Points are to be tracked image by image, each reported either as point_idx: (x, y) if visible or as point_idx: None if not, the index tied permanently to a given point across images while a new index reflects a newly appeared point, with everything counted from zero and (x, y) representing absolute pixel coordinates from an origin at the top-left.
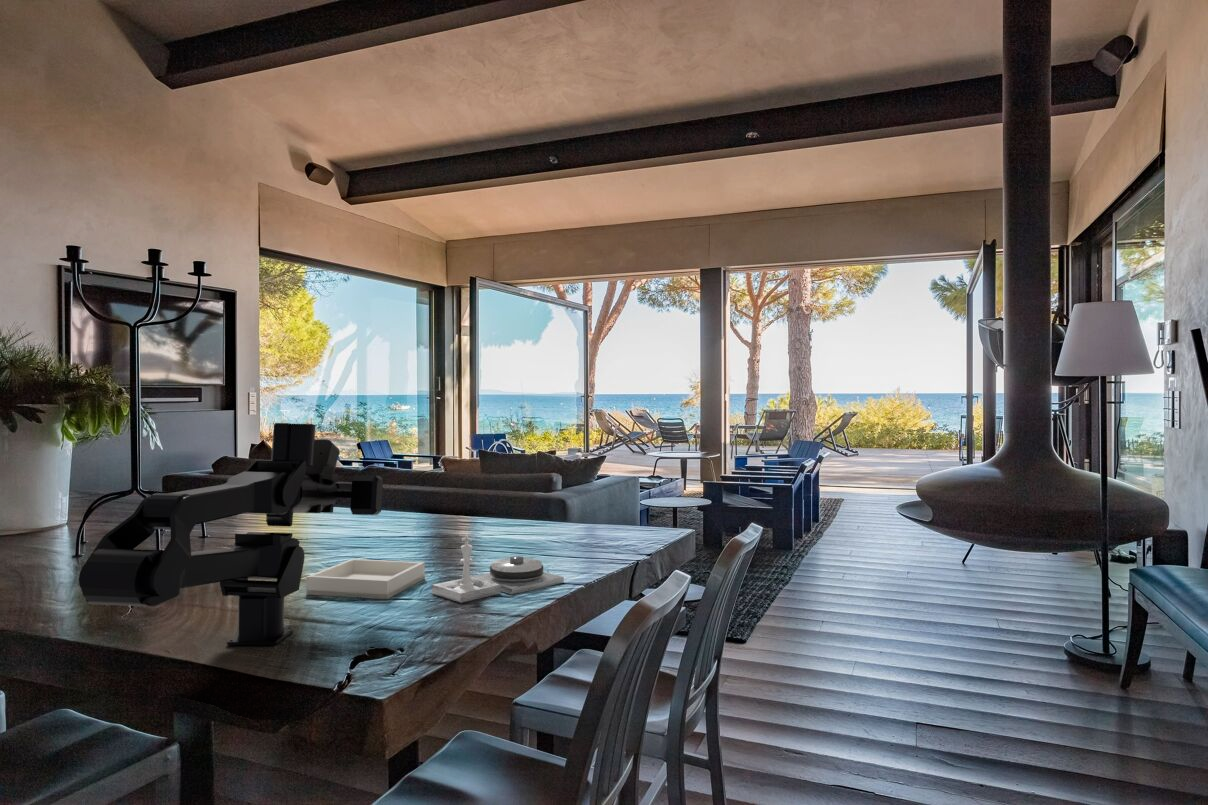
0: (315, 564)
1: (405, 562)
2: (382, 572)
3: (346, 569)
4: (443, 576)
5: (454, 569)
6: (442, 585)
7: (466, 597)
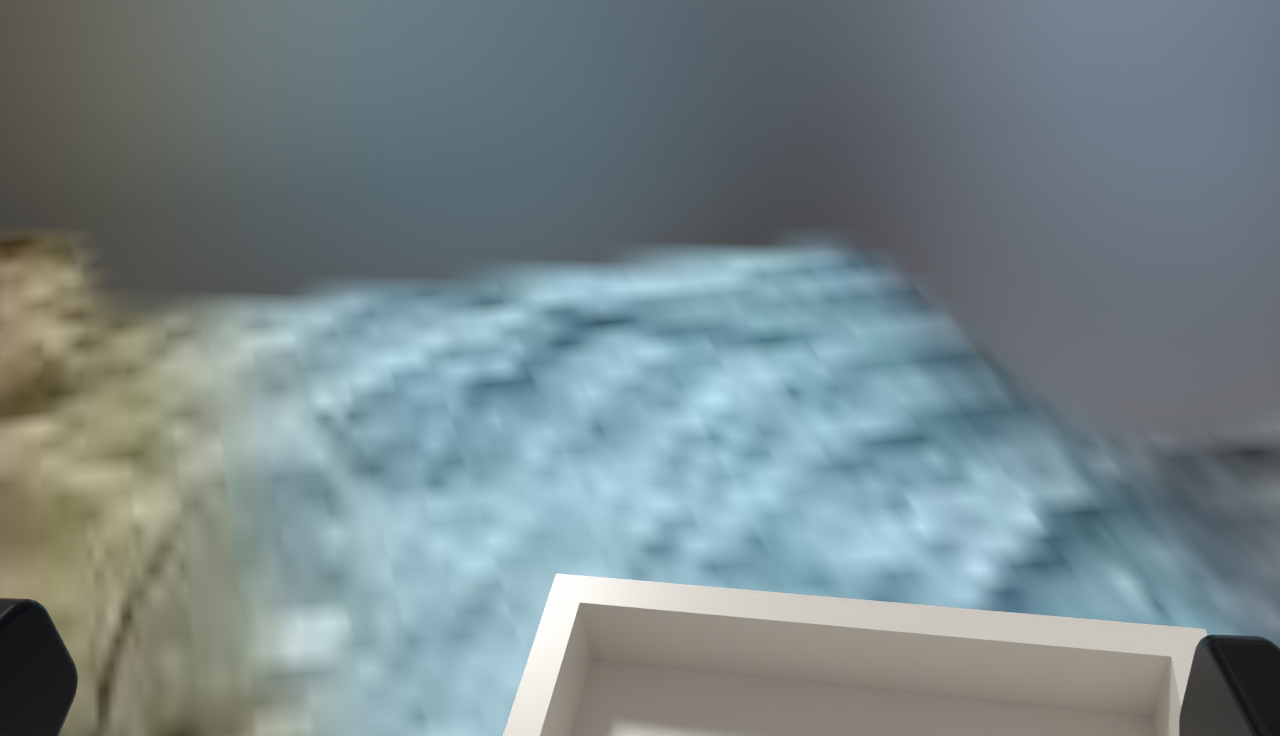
0: (286, 443)
1: (1041, 646)
2: (828, 678)
3: (562, 723)
4: (1274, 630)
5: (1217, 460)
6: None
7: None
